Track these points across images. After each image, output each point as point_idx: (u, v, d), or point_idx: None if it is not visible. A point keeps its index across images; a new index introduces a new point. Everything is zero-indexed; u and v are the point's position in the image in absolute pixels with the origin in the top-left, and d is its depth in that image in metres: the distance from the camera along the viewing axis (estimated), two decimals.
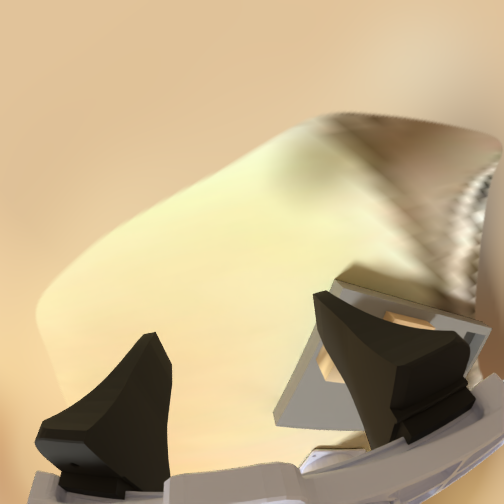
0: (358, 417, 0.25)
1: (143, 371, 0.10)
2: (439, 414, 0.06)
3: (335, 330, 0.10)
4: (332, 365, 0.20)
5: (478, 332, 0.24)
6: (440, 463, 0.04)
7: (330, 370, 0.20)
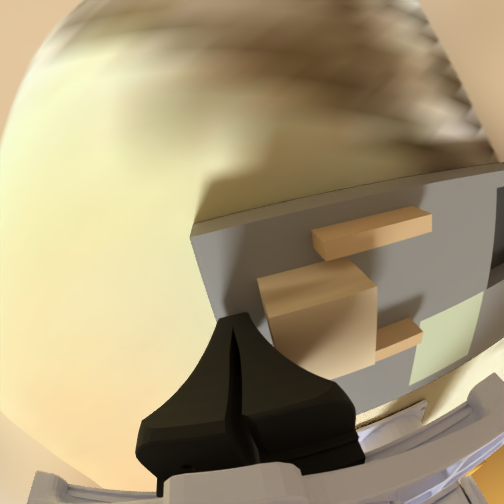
0: (380, 389, 0.17)
1: (234, 354, 0.10)
2: (313, 466, 0.05)
3: None
4: None
5: None
6: (440, 463, 0.04)
7: None
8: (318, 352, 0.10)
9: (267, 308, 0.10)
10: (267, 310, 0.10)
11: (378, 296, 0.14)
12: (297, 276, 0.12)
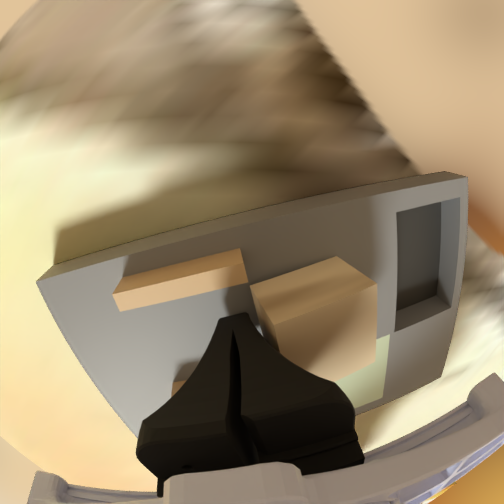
0: None
1: (234, 354, 0.10)
2: (313, 467, 0.05)
3: None
4: None
5: (434, 199, 0.12)
6: (440, 463, 0.04)
7: None
8: (323, 355, 0.10)
9: (269, 315, 0.10)
10: (270, 317, 0.10)
11: None
12: (292, 280, 0.11)
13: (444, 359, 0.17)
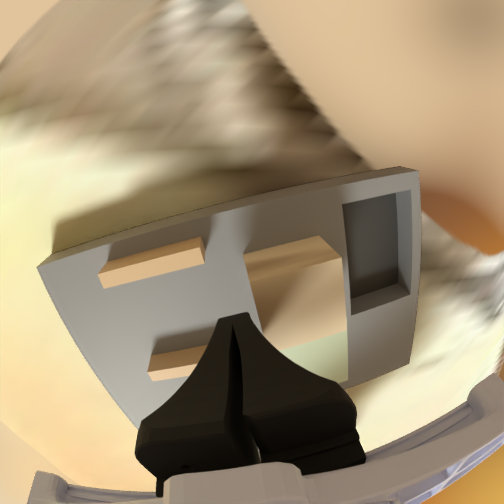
0: None
1: (233, 354, 0.10)
2: (314, 466, 0.05)
3: None
4: None
5: (381, 192, 0.14)
6: (440, 463, 0.04)
7: None
8: (294, 315, 0.13)
9: (249, 275, 0.12)
10: (249, 276, 0.12)
11: (186, 317, 0.16)
12: (276, 252, 0.14)
13: (410, 345, 0.19)
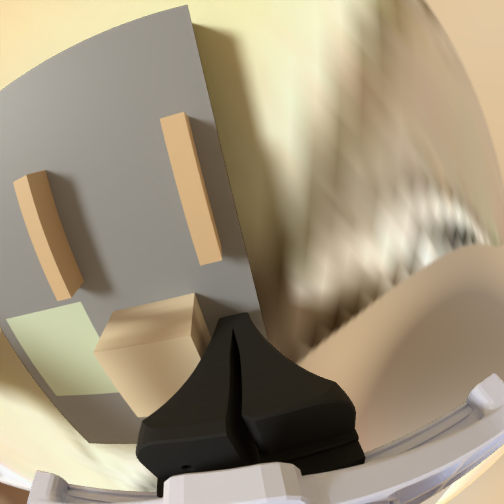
0: None
1: (234, 354, 0.10)
2: (313, 467, 0.05)
3: None
4: (124, 345, 0.10)
5: None
6: (440, 463, 0.04)
7: (113, 347, 0.10)
8: (150, 376, 0.10)
9: (191, 326, 0.10)
10: (191, 328, 0.10)
11: (106, 223, 0.11)
12: (205, 331, 0.12)
13: (109, 442, 0.16)
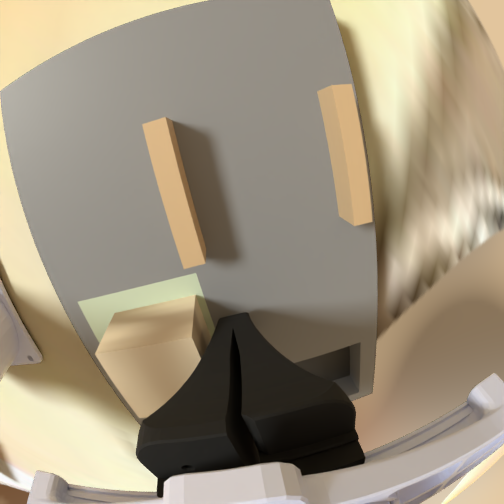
0: (75, 248, 0.11)
1: (234, 354, 0.10)
2: (313, 466, 0.05)
3: None
4: (125, 347, 0.10)
5: (362, 370, 0.16)
6: (440, 463, 0.04)
7: (115, 349, 0.10)
8: (152, 377, 0.10)
9: (193, 328, 0.10)
10: (192, 329, 0.10)
11: (246, 183, 0.11)
12: (206, 333, 0.12)
13: None
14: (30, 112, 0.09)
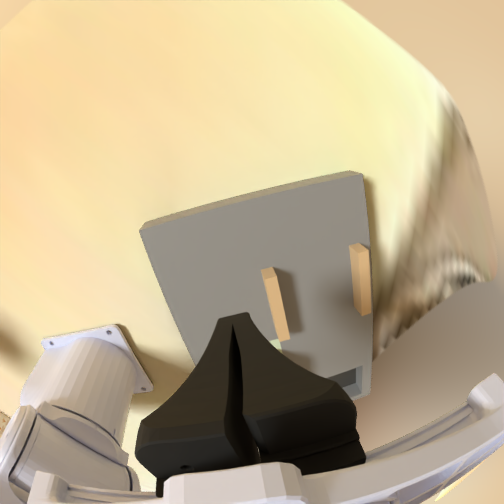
0: (208, 330, 0.21)
1: (233, 354, 0.10)
2: (314, 466, 0.05)
3: None
4: None
5: (363, 380, 0.26)
6: (440, 463, 0.04)
7: None
8: None
9: None
10: None
11: (309, 296, 0.21)
12: None
13: None
14: (173, 252, 0.19)
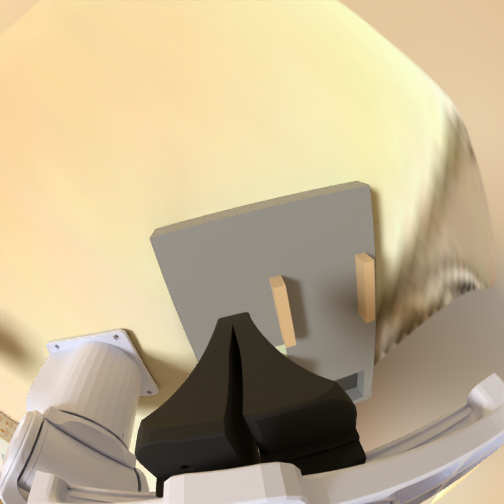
0: None
1: (233, 354, 0.10)
2: (314, 466, 0.05)
3: None
4: None
5: (365, 385, 0.26)
6: (440, 463, 0.04)
7: None
8: None
9: None
10: None
11: (315, 303, 0.21)
12: None
13: None
14: (183, 259, 0.19)
